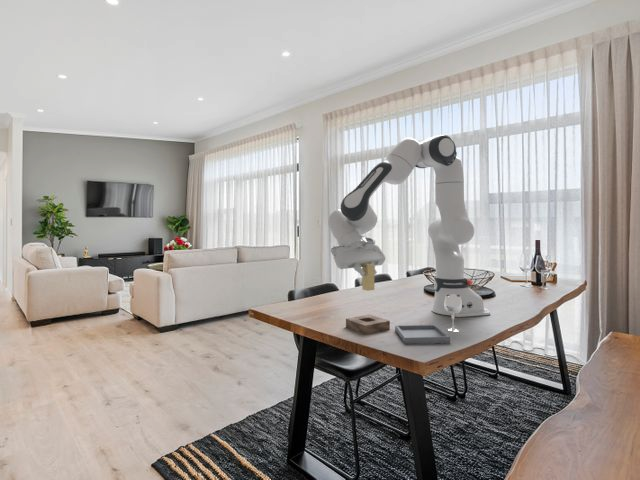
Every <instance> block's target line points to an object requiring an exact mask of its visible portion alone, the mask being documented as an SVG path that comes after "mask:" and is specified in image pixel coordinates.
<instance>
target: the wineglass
mask: <svg viewBox="0 0 640 480" xmlns="http://www.w3.org/2000/svg"><path fill="white" fill-rule="evenodd" d="M444 307H445V310H446V311H447V312H448V313H450V314H452V316H451V321H452V322H451V327H447V328H445V330H446V331H447V332H451V333H457V332H458V333H459V332H460V331H461V330H460V328H455V325H454V321H455V317H454V314H457V313H459V312H460V311H461V309H462V301H461V297H460V295H455V294H448V295H446V297H445V302H444Z"/></svg>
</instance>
